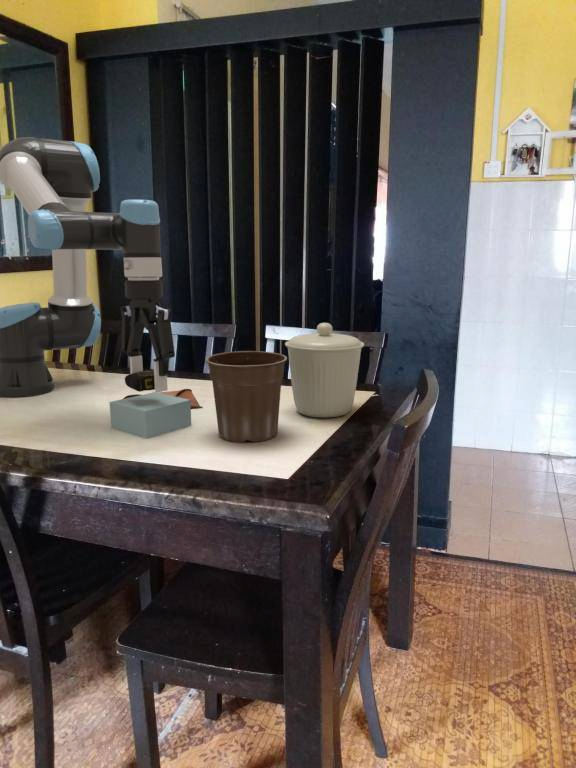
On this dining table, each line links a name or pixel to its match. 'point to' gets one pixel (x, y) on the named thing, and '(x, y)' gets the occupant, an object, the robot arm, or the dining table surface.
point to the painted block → (150, 414)
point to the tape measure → (141, 381)
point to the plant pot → (247, 393)
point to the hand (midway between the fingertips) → (149, 388)
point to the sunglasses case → (181, 394)
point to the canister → (324, 372)
